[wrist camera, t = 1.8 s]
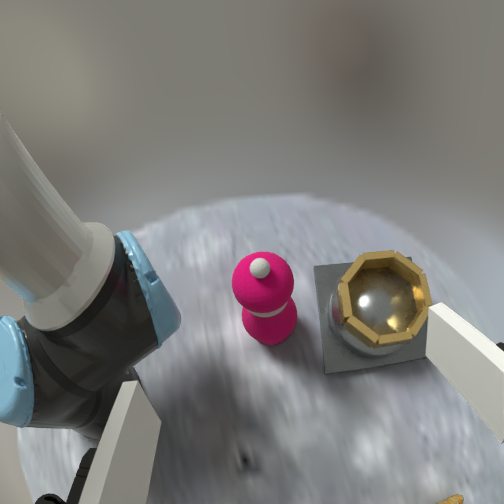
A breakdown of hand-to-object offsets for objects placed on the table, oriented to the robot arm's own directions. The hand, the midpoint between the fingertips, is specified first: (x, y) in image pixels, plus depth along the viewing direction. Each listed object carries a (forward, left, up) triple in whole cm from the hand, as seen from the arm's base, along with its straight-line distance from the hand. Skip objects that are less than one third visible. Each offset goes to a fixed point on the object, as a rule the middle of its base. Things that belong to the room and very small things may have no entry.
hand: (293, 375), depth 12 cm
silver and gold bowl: (+13, +11, -31) cm, 35 cm away
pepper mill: (-2, +11, -31) cm, 33 cm away
